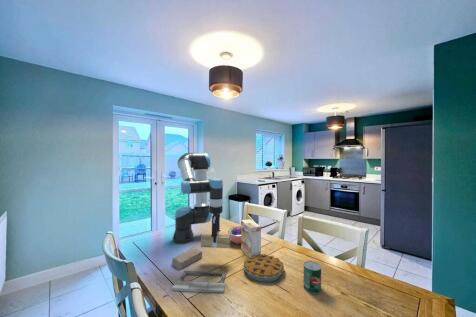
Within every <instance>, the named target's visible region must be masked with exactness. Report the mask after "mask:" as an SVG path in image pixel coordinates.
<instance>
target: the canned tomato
mask: <svg viewBox="0 0 476 317" xmlns="http://www.w3.org/2000/svg"><path fill="white" fill-rule="evenodd" d="M303 289H304V291H305V292H307V293H308V294H312V295H318V294H319V295H320V293H321V292H322V266H321V264H319V262H316V261H313V260H308V261H307V260H306V261H304V262H303Z"/></svg>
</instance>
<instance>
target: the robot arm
mask: <svg viewBox="0 0 476 317" xmlns="http://www.w3.org/2000/svg"><path fill="white" fill-rule="evenodd" d="M177 168H178V169H179V170H180V174H181V179H182V181H181V183H180V193H181V194H182V195H190V194H195V204H194V205H193V207H191V206H182V207H179V208H177V209H176V210H175V213H174V214H175V215H174V218H175V222H174V224H175V227H174V229H175V230H174V233H173V236H172V242H173V243H175V244H189V243H190V242H193V241H194V240H195V235H194V231H193V229H192V228H193V227H192V225H199V224H206V223H210V222H211V234H212V235H211V237H212V248H213V249H214V248H215V249H218V248H217V234H220V232H221V228H220V226H221V225H220V222H221V221H220V220H221V219H220V217H221V214H222V213H223V208H224V207H223V206H224V205H223V204H224V203H223V200H224V199H223V197H224V196H223V195H224V194H223V191H224V190H223V187H224V182H223V179H222V178H217V177H216V178H208V179H207V172H208V171H209V168H211V158H210V156H209V154H208V153H207V152H187V153H184V154H181V156H180V157H179V158H178V160H177ZM194 173H195V174H194ZM208 193H209V199H208ZM208 202H209V203H208Z"/></svg>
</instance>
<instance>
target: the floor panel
mask: <svg viewBox="0 0 476 317" xmlns="http://www.w3.org/2000/svg"><path fill="white" fill-rule="evenodd" d="M187 275H189V276H208V277H221V278H220V282H204V281H203V282H202V281H200V282H199V281H184V280H185V278H186V276H187ZM225 280H226V272H223V271H199V270H183V272H182V274H181V276H180V278H179V280H178V281H177V280H176V281H175V283H174V284H173V286H172V287H171V291H173V292H174V291H175V292H178V291H179V292H197V293H214V294H215V293H217V294H219V293H220V294H224V293H225V289H226V283H225Z"/></svg>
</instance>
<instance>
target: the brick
mask: <svg viewBox="0 0 476 317" xmlns="http://www.w3.org/2000/svg"><path fill="white" fill-rule="evenodd" d="M202 257H203V250H202V249H198V248H196V247H192V248H190V249H187V251H185V252H182V253H180V254H178V255H175V256H173V257H172V260H171V265H172V266H173V267H175V268H176V269H178V270H182V269H185V268H186V267H188V266H189V265H191V264H193V263H195V262H197V261H199V260H200V259H202Z"/></svg>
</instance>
